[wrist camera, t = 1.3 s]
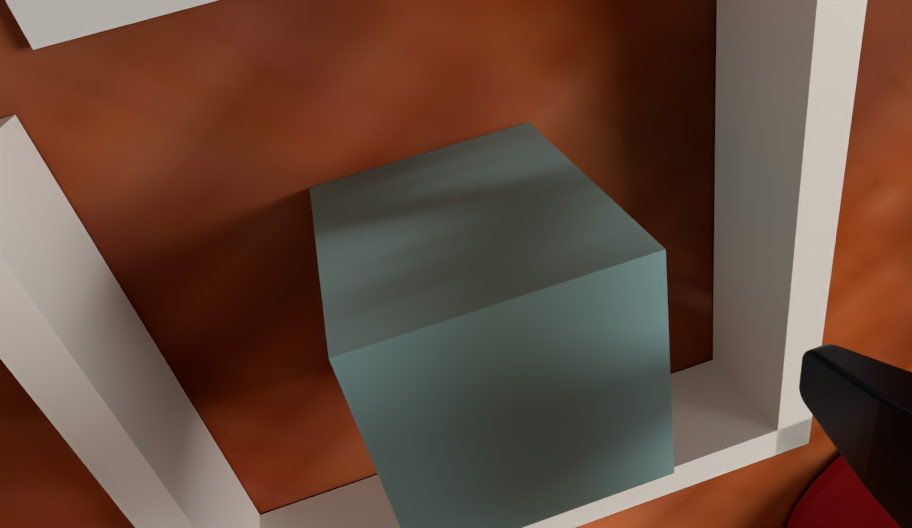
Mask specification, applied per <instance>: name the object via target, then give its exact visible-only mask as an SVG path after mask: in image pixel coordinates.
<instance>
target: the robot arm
mask: <svg viewBox="0 0 912 528" xmlns="http://www.w3.org/2000/svg"><path fill="white" fill-rule="evenodd" d="M799 390H800V395H801V398H802V400H803V402H804V403H805V405H806V406H807V408H808V409H809V410H810V412H811V413H812V415H813V416H814V417H815V419H816V420H817V422H818V423H819V424H820V426H821V427H822V429H823V430H824V431H825V433H826V434H827V436H828V437H829V438H830V440H831V441H832V443H833V444H834V445H835V447H836V448H837V450H838V451H839V452H840V454H841V455H842V457H843V458H844V459H845V461H846V462H847V464H848V465H849V466H850V468H851V469H852V471H853V472H854V473H855V475H856V476H857V477H858V479H859V480H860V481H861V482H862V484H863V485H864V486H865V487H866V489H867V490H868V491H869V492H870V493H871V495H872V496H873V497H874V498H875V499H876V500H877V502H878V503H879V504H880V505H881V506H882V507H883V508H884V510H885V511H886V512H887V513H888V514H889V515H890V516H891V518H892V519H893V520H894V521H895V522H896V523H897V524H898V526H899V527H900V528H912V372H909V371H906V370H904V369H901V368H898V367H895V366H892V365H890V364H887V363H884V362H881V361H878V360H876V359H873V358H870V357H867V356H864V355H862V354H859V353H856V352H853V351H850V350H848V349H845V348H842V347H839V346H836V345H832V344H826V345H822V346H819V347H816V348H813V349H810V350H808V351H806V352H805V353H804V355H803V357H802V365H801V374H800V383H799Z"/></svg>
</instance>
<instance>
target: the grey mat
mask: <svg viewBox="0 0 912 528" xmlns="http://www.w3.org/2000/svg"><path fill="white" fill-rule="evenodd" d="M5 1H6V3H7V4H8V6H9V8H10V10H11V12H12V13H13V15H14V17H15V19H16V20H17V22H18V24H19V26H20V28H21V29H22V31H23V33H24V35H25V36H26V38H27V40H28V42H29V44H30V45H31V47H32V49H33V50H34V49H38V48H42V47H45V46H49V45H53V44H57V43H60V42H64V41H68V40H71V39H75V38H79V37H83V36H86V35H90V34H94V33H98V32H101V31H105V30H109V29H113V28H116V27H120V26H124V25H128V24H131V23H135V22H139V21H143V20H146V19H150V18H154V17H158V16H161V15H165V14H169V13H173V12H176V11H180V10H184V9H188V8H191V7H195V6H199V5H203V4H206V3H210V2H214V1H217V0H5Z"/></svg>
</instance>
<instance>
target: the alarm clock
mask: <svg viewBox="0 0 912 528" xmlns="http://www.w3.org/2000/svg"><path fill="white" fill-rule="evenodd" d="M786 528H900V527H899V526H898V524H897V523H896V522H895V521H894V520H893V519H892V518H891V516H890V515H889V514H888V513H887V512H886V511H885V510H884V508H883V507H882V506H881V505H880V504H879V503H878V502H877V500H876V499H875V498H874V497H873V496H872V495H871V493H870V492H869V491H868V490H867V489H866V487H865V486H864V485H863V484H862V482H861V481H860V480H859V479H858V477H857V476H856V475H855V473H854V472H853V471H852V469H851V468H850V466H849V465H848V464H847V462H846V461H845V459H844V458H843V457H842V455H841V456H840V457H839V458H837V459H836V460H835V461H834V462H833V463H832V464H831V465H830V466H829V467H828V468H827V469H826V470H825V471H824V472H823V473H822V474H821V475H820V476H819V477H818V478H817V479H816V480H815V481H814V482H813V484H812V485H811V486H810V488H809V489H808V490H807V492H806V493H805V494H804V495H803V497H802V498H801V499H800V501H799V502H798V503H797V505H796V507H795V509H794V510H793V512H792V514H791V516H790V519H789V521H788V524H787V527H786Z"/></svg>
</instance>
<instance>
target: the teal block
mask: <svg viewBox="0 0 912 528" xmlns="http://www.w3.org/2000/svg"><path fill="white" fill-rule="evenodd" d="M309 189H310V198H311V206H312V215H313V224H314V233H315V242H316V251H317V260H318V269H319V278H320V287H321V296H322V304H323V313H324V322H325V331H326V340H327V349H328V358H329V361H330V363H331V365H332V368H333V370H334V372H335V375H336V377H337V379H338V382H339V384H340V387H341V389H342V391H343V394H344V396H345V398H346V401H347V403H348V405H349V408H350V410H351V412H352V415H353V417H354V420H355V422H356V424H357V427H358V429H359V431H360V434H361V436H362V438H363V441H364V443H365V445H366V448H367V450H368V452H369V455H370V457H371V460H372V462H373V464H374V467H375V469H376V471H377V474H378V476H379V478H380V481H381V483H382V485H383V488H384V490H385V493H386V495H387V497H388V500H389V502H390V504H391V507H392V509H393V511H394V514H395V516H396V518H397V521H398V523H399V526H400V528H523V527H525V526H528V525H531V524H534V523H537V522H539V521H542V520H545V519H548V518H551V517H553V516H556V515H559V514H562V513H565V512H567V511H570V510H573V509H576V508H578V507H581V506H584V505H587V504H590V503H592V502H595V501H598V500H601V499H604V498H606V497H609V496H612V495H615V494H618V493H620V492H623V491H626V490H629V489H631V488H634V487H637V486H640V485H643V484H645V483H648V482H651V481H654V480H657V479H659V478H662V477H665V476H668V475H671V474H673V473H674V453H673V427H672V401H671V375H670V348H669V322H668V296H667V269H666V249H665V248H664V247H663V246H662V245H661V244H660V243H658V242H657V241H656V240H655V239H654V238H653V237H652V236H651V235H650V234H649V233H648V232H647V231H646V230H644V229H643V228H642V227H641V226H640V225H639V224H638V223H637V222H636V221H635V220H634V219H633V218H632V217H630V216H629V215H628V214H627V213H626V212H625V211H624V210H623V209H622V208H621V207H620V206H619V205H618V204H616V203H615V202H614V201H613V200H612V199H611V198H610V197H609V196H608V195H607V194H606V193H605V192H604V191H602V190H601V189H600V188H599V187H598V186H597V185H596V184H595V183H594V182H593V181H592V180H591V179H590V178H588V177H587V176H586V175H585V174H584V173H583V172H582V171H581V170H580V169H579V168H578V167H577V166H576V165H574V164H573V163H572V162H571V161H570V160H569V159H568V158H567V157H566V156H565V155H564V154H563V153H562V152H560V151H559V150H558V149H557V148H556V147H555V146H554V145H553V144H552V143H551V142H550V141H549V140H548V139H546V138H545V137H544V136H543V135H542V134H541V133H540V132H539V131H538V130H537V129H536V128H535V127H534V126H532V125H531V124H530V123H529V122H527V123H524V124H521V125H517V126H514V127H511V128H507V129H504V130H501V131H497V132H494V133H490V134H487V135H484V136H480V137H477V138H474V139H470V140H467V141H464V142H460V143H457V144H454V145H450V146H447V147H443V148H440V149H437V150H433V151H430V152H427V153H423V154H420V155H417V156H413V157H410V158H407V159H403V160H400V161H396V162H393V163H390V164H386V165H383V166H380V167H376V168H373V169H370V170H366V171H363V172H360V173H356V174H353V175H349V176H346V177H343V178H339V179H336V180H333V181H329V182H326V183H323V184H319V185H316V186H313V187H309Z"/></svg>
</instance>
